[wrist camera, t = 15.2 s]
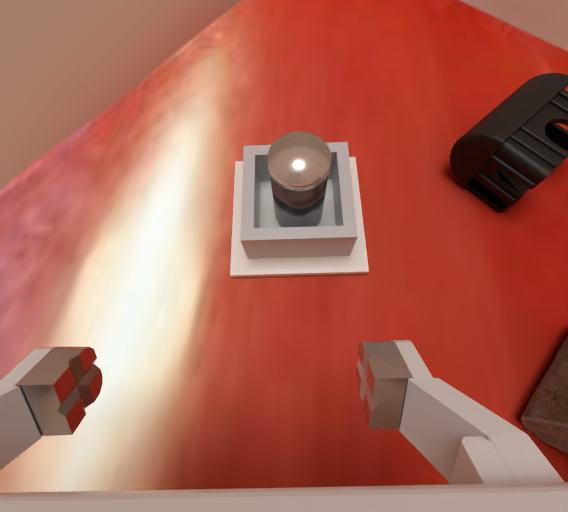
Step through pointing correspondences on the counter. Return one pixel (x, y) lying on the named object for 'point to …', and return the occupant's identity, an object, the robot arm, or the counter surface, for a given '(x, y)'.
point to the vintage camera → (551, 404)
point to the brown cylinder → (299, 178)
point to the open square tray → (296, 240)
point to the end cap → (515, 143)
